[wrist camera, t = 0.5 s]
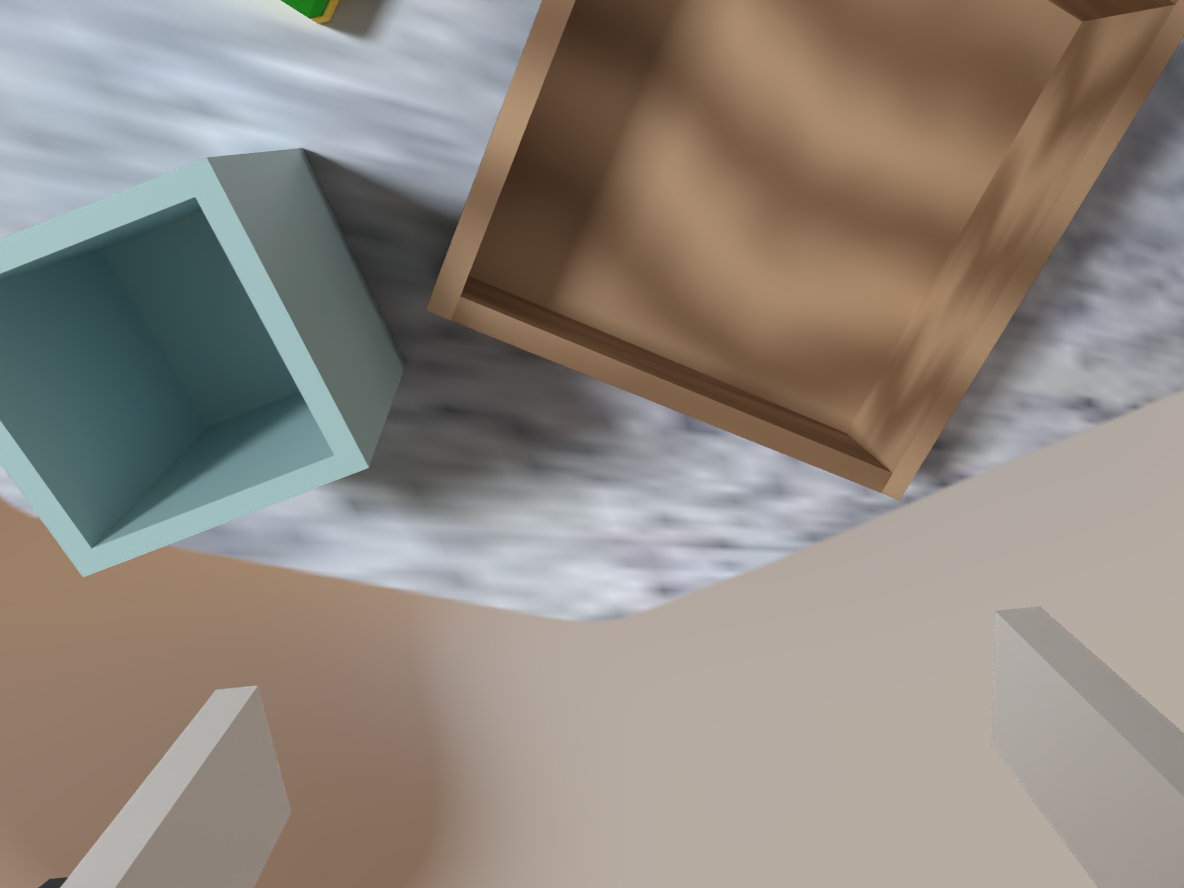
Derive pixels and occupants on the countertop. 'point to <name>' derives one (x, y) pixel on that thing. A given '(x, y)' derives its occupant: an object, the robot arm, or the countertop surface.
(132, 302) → the small teal crate
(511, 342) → the big walnut crate
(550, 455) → the countertop surface
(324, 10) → the dish sponge
